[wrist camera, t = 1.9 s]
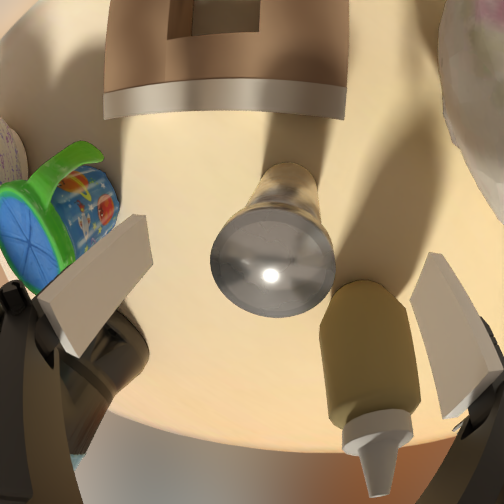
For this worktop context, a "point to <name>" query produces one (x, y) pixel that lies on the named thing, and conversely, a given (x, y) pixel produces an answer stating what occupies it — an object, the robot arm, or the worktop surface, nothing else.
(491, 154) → the ceramic pitcher
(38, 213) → the snack cup
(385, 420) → the squeeze bottle
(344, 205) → the worktop surface
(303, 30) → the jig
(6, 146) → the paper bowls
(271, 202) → the metal capped cylinder
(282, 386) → the worktop surface
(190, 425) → the worktop surface
